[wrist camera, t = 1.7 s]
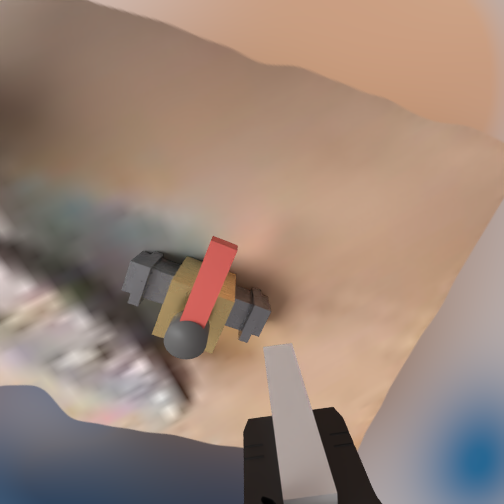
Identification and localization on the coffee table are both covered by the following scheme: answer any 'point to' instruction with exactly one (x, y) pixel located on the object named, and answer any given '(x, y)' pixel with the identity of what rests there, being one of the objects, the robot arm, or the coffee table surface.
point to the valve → (178, 291)
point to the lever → (200, 303)
